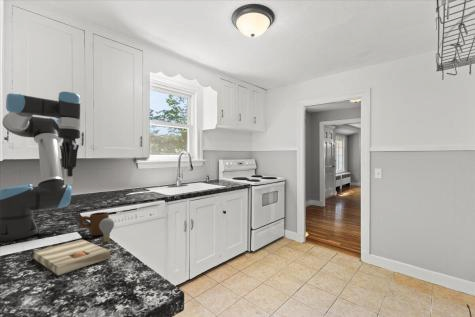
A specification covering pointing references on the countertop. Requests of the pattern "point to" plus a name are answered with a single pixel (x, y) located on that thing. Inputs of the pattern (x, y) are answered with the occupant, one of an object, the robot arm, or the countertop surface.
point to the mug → (94, 222)
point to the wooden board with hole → (70, 256)
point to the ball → (79, 254)
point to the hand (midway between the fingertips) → (68, 184)
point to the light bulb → (106, 228)
